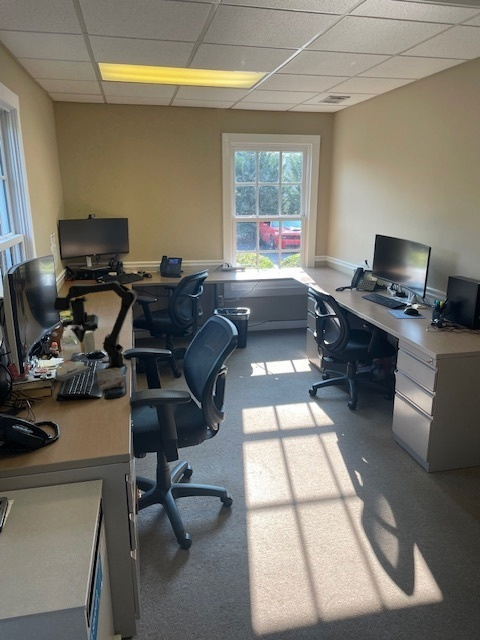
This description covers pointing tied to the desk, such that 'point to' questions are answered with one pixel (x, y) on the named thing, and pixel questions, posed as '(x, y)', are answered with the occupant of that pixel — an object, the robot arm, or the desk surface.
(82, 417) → the desk surface
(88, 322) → the flower pot
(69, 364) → the key
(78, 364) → the key
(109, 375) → the geological specimen
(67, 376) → the keypad base
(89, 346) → the skincare box
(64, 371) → the key
